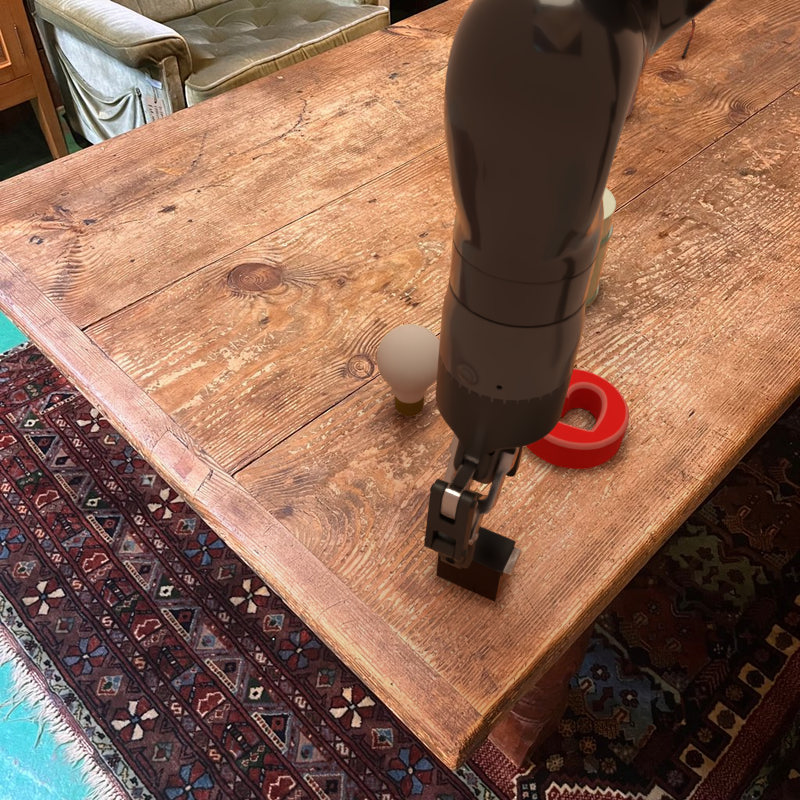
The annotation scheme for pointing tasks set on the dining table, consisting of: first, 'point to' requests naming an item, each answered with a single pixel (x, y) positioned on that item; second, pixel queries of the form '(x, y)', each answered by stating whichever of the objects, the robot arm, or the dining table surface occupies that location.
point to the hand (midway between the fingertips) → (480, 512)
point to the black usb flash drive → (484, 565)
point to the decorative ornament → (579, 444)
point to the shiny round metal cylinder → (602, 245)
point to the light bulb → (409, 365)
